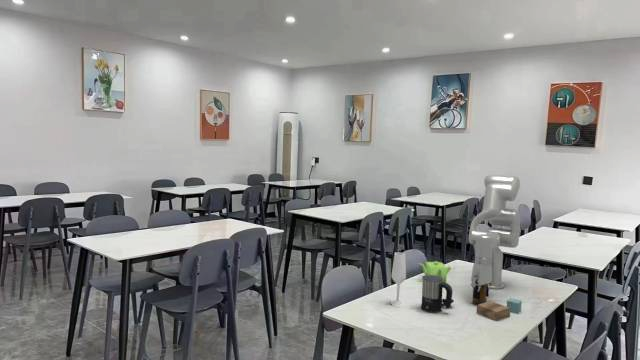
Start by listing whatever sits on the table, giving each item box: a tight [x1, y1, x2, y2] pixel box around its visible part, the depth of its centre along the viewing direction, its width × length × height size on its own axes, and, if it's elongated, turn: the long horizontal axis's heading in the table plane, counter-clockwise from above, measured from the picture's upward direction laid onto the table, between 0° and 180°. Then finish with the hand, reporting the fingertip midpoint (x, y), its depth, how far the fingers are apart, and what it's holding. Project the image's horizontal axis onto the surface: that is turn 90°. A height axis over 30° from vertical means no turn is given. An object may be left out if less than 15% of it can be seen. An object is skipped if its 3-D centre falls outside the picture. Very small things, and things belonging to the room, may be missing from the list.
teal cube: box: [506, 297, 523, 315], centre depth 203 cm, size 5×5×5 cm
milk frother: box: [420, 274, 455, 314], centre depth 203 cm, size 14×16×15 cm
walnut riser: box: [476, 300, 511, 322], centre depth 197 cm, size 10×10×4 cm
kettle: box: [419, 261, 452, 283], centre depth 243 cm, size 15×14×11 cm
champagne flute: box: [390, 251, 407, 307], centre depth 206 cm, size 7×7×24 cm
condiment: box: [468, 283, 487, 306], centre depth 211 cm, size 7×8×12 cm
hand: (480, 297), depth 211 cm, fingers closed on condiment, 6 cm apart
